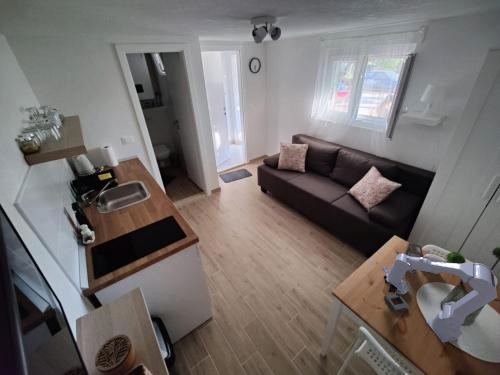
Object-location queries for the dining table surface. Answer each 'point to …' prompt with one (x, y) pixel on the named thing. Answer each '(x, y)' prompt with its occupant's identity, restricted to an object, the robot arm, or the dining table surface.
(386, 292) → the wedge
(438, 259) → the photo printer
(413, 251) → the coffee box
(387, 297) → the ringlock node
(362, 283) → the dining table surface
